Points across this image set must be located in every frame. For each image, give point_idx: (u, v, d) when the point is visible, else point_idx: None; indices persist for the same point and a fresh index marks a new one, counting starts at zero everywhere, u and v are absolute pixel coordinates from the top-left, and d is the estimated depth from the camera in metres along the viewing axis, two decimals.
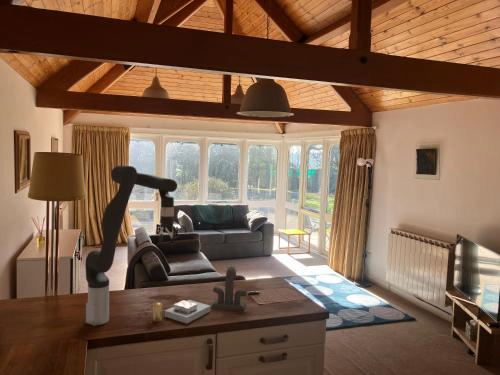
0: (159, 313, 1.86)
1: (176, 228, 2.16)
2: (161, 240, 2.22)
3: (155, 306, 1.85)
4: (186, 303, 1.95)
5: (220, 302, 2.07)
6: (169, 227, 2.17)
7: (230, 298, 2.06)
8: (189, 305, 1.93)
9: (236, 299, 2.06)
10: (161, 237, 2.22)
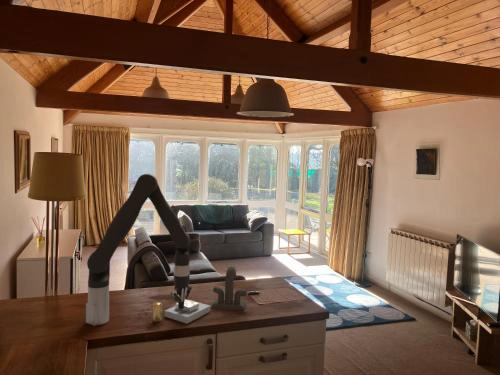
0: (159, 313, 1.86)
1: None
2: None
3: (155, 306, 1.85)
4: (188, 302, 1.96)
5: (220, 302, 2.07)
6: (187, 288, 1.92)
7: (230, 298, 2.06)
8: (191, 304, 1.94)
9: (236, 299, 2.06)
10: None
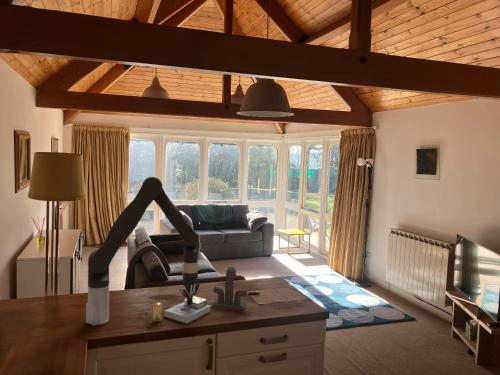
0: (159, 313, 1.86)
1: None
2: None
3: (155, 306, 1.85)
4: (196, 299, 2.01)
5: (220, 302, 2.07)
6: (195, 284, 1.98)
7: (230, 298, 2.06)
8: (199, 300, 1.99)
9: (236, 299, 2.06)
10: None
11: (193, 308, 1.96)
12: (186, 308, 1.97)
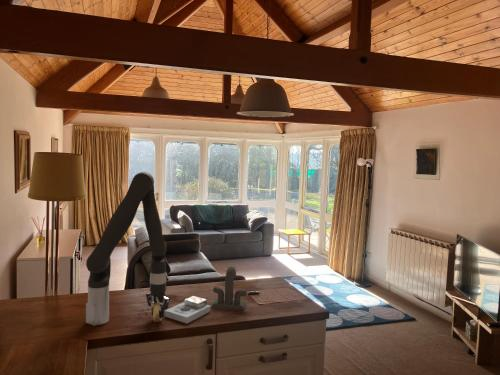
0: None
1: None
2: None
3: (155, 306, 1.85)
4: (196, 299, 2.01)
5: (220, 302, 2.07)
6: None
7: (230, 298, 2.06)
8: (199, 300, 1.99)
9: (236, 299, 2.06)
10: None
11: (193, 308, 1.96)
12: (186, 308, 1.97)
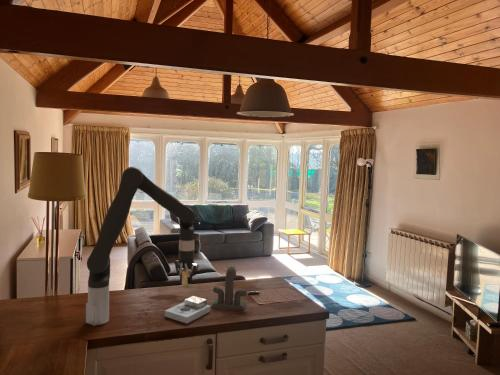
0: None
1: None
2: None
3: (184, 272, 1.91)
4: (196, 299, 2.01)
5: (220, 302, 2.07)
6: None
7: (230, 298, 2.06)
8: (199, 300, 1.99)
9: (236, 299, 2.06)
10: None
11: (193, 308, 1.96)
12: (186, 308, 1.97)
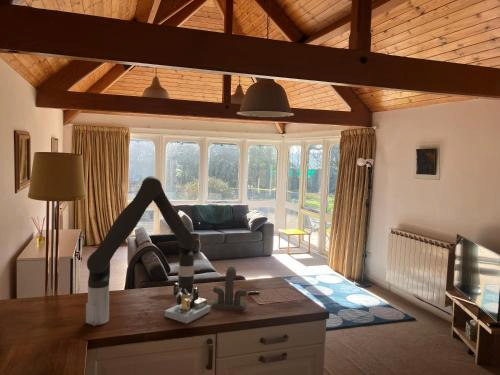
0: (187, 309, 1.92)
1: None
2: None
3: (183, 302, 1.92)
4: None
5: (220, 302, 2.07)
6: None
7: (230, 298, 2.06)
8: (199, 300, 1.99)
9: (236, 299, 2.06)
10: None
11: (193, 308, 1.96)
12: None
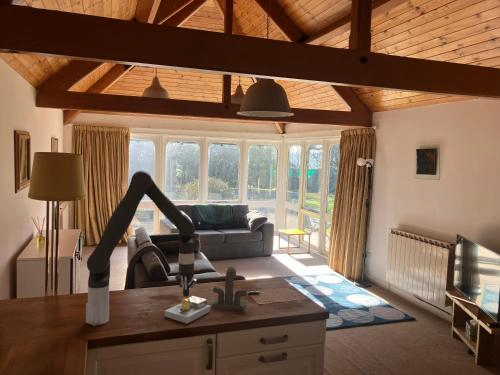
0: (187, 309, 1.92)
1: None
2: None
3: (183, 302, 1.92)
4: (196, 299, 2.01)
5: (220, 302, 2.07)
6: None
7: (230, 298, 2.06)
8: (199, 300, 1.99)
9: (236, 299, 2.06)
10: None
11: (193, 308, 1.96)
12: None
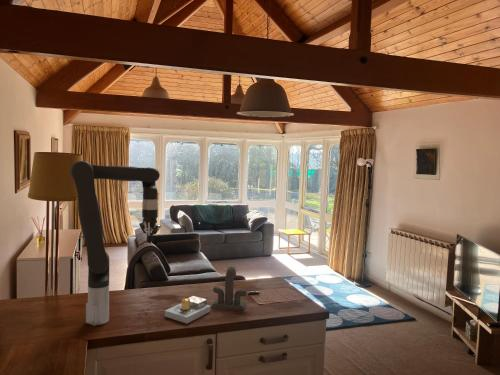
0: (187, 309, 1.92)
1: None
2: None
3: (183, 302, 1.92)
4: (196, 299, 2.01)
5: (220, 302, 2.07)
6: None
7: (230, 298, 2.06)
8: (199, 300, 1.99)
9: (236, 299, 2.06)
10: None
11: (193, 308, 1.96)
12: None
